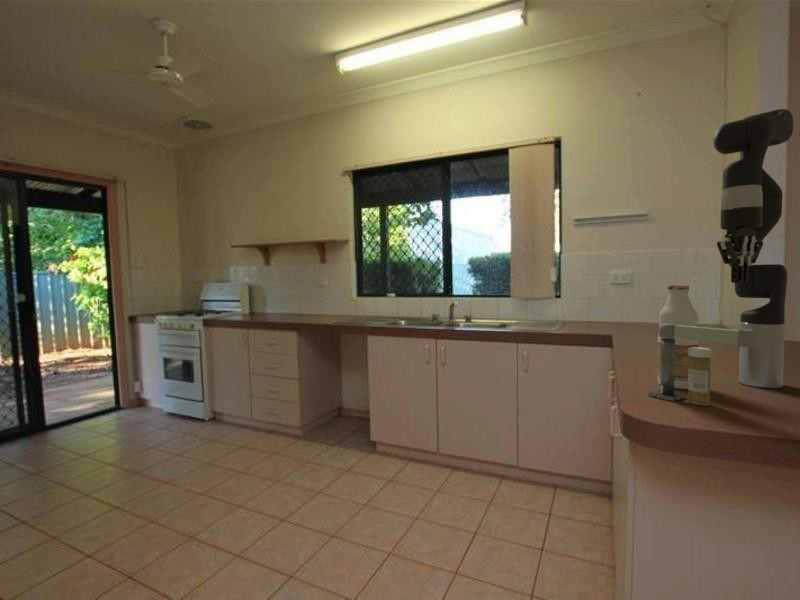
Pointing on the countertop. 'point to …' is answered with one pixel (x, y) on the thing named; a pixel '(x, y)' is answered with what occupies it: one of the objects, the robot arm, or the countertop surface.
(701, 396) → the sprinkles bottle
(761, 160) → the robot arm
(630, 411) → the countertop surface
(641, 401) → the countertop surface
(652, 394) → the post
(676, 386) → the fruit juice
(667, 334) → the swing bar
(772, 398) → the countertop surface
